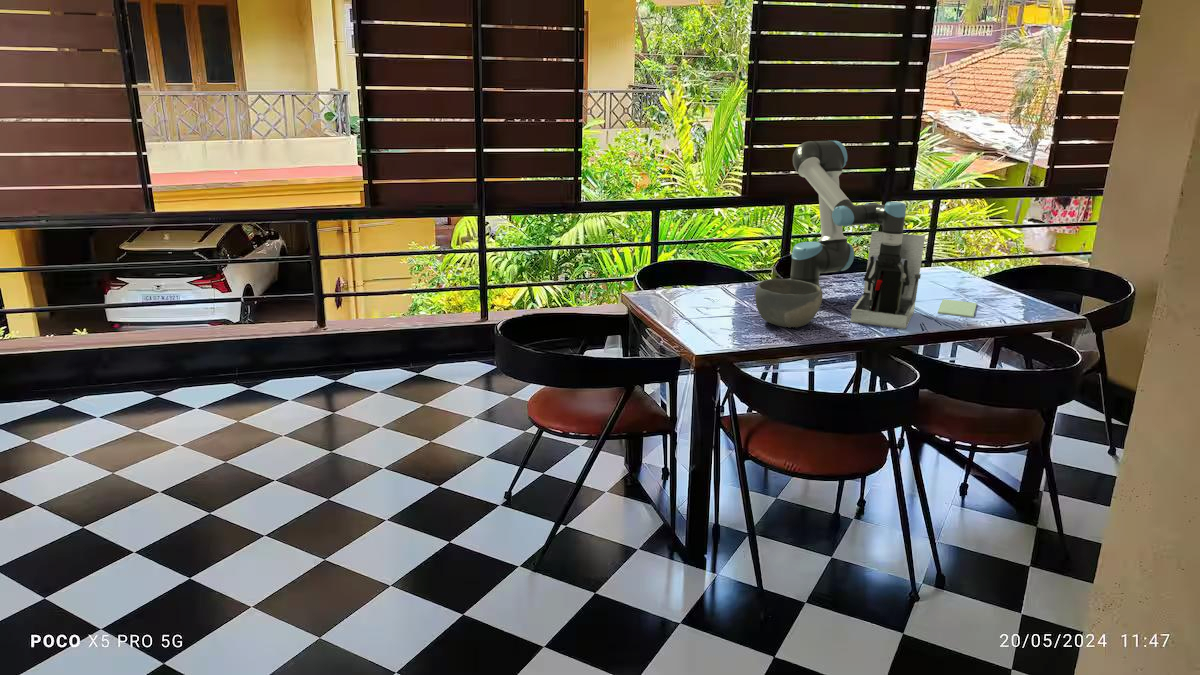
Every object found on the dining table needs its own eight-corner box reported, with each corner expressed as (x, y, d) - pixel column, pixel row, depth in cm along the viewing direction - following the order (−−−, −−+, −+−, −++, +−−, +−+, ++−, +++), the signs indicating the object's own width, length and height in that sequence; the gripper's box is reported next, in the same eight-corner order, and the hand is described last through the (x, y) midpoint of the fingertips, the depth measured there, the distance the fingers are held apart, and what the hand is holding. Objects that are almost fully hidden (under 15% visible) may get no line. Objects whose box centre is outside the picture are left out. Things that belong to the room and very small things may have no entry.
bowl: (821, 336, 304) (825, 296, 299) (753, 332, 308) (755, 292, 303) (817, 317, 327) (820, 279, 322) (753, 313, 331) (756, 276, 326)
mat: (937, 313, 333) (937, 311, 332) (942, 300, 350) (942, 299, 350) (973, 317, 327) (973, 316, 327) (976, 304, 345) (976, 303, 345)
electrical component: (899, 323, 318) (907, 272, 312) (871, 321, 320) (878, 270, 313) (894, 311, 334) (901, 262, 328) (867, 308, 336) (874, 259, 330)
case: (850, 321, 321) (858, 244, 311) (864, 302, 347) (872, 230, 338) (906, 329, 312) (916, 250, 303) (917, 308, 338) (926, 235, 329)
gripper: (859, 242, 320) (853, 299, 327) (920, 248, 310) (913, 306, 317) (862, 238, 326) (856, 294, 333) (923, 244, 317) (915, 301, 324)
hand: (884, 300), depth 325 cm, fingers open, 9 cm apart
